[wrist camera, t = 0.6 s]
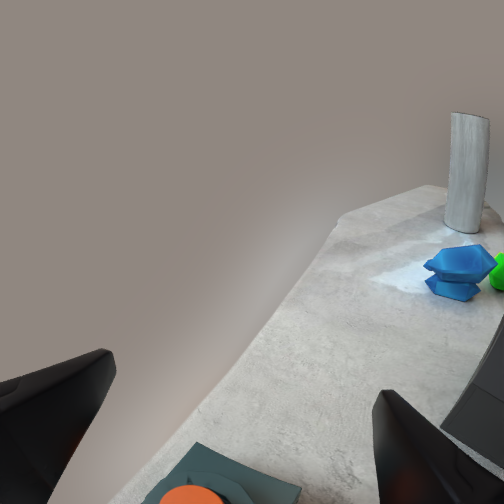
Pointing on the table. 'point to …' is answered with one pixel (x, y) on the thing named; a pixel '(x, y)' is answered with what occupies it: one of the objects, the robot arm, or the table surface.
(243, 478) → the control block
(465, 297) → the crystal
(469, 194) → the grey fabric cylinder
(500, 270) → the apple
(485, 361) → the lid
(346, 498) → the table surface
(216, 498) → the button
